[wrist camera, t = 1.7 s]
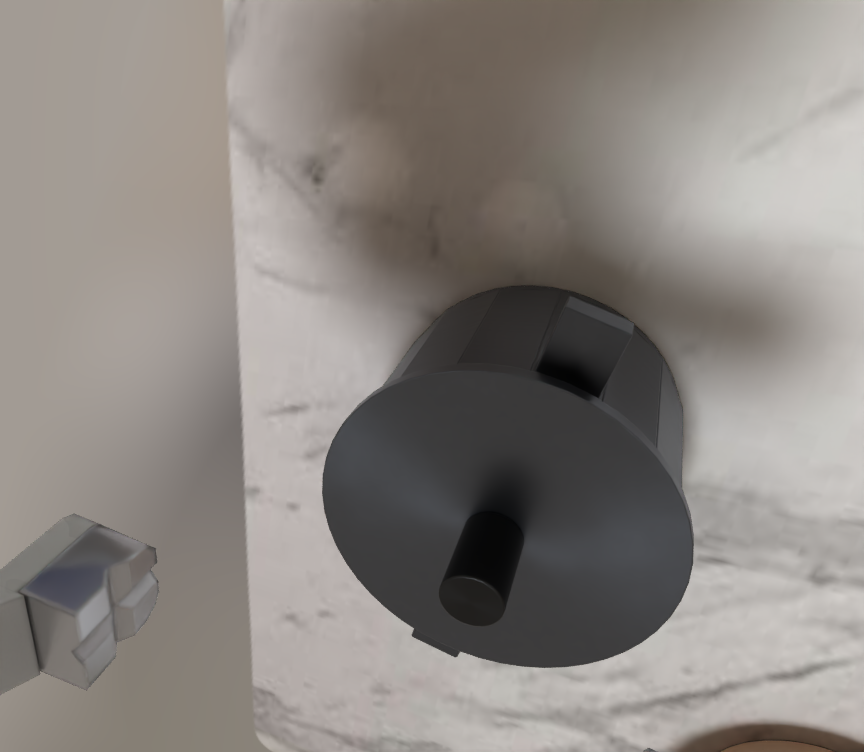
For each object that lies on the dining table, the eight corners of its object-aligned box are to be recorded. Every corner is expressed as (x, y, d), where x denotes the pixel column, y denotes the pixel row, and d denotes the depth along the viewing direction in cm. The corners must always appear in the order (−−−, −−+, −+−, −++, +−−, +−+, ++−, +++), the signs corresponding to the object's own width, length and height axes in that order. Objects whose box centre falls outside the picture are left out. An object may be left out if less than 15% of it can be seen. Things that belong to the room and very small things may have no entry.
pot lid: (304, 554, 33) (254, 632, 29) (381, 291, 25) (325, 351, 21) (594, 693, 32) (581, 794, 28) (774, 462, 24) (791, 558, 20)
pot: (366, 488, 41) (300, 596, 34) (470, 183, 30) (404, 248, 23) (585, 590, 40) (563, 724, 33) (773, 307, 29) (800, 416, 22)
